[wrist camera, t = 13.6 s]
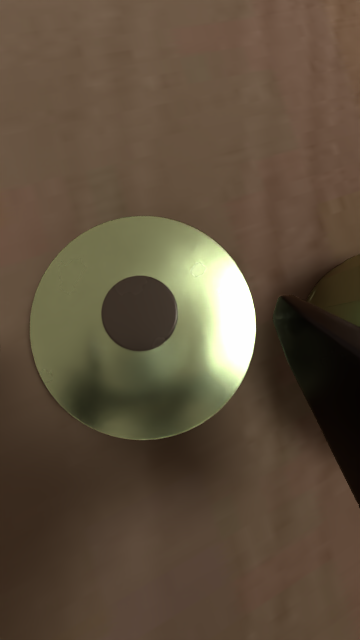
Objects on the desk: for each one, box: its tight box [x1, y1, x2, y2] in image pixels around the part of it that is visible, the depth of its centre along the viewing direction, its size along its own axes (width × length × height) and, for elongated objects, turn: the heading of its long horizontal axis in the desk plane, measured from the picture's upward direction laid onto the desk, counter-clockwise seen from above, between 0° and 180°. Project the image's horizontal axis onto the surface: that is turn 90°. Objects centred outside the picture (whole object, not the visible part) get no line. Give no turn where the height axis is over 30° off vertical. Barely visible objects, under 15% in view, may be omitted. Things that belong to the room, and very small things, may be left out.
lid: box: [30, 216, 256, 440], centre depth 12 cm, size 12×12×7 cm
